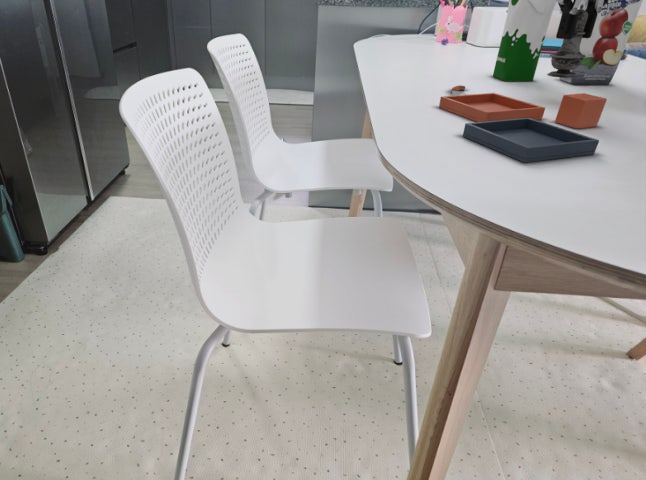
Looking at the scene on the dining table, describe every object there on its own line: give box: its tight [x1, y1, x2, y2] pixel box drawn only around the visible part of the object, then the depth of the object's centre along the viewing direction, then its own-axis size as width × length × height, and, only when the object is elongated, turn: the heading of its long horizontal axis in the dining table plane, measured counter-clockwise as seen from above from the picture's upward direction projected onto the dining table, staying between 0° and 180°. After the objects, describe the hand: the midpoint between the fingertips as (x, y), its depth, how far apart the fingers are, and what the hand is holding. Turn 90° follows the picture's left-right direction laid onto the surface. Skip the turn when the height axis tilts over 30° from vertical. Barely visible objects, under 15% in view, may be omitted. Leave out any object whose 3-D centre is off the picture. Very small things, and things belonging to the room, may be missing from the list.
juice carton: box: [558, 0, 643, 86], centre depth 105 cm, size 9×10×27 cm
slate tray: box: [462, 118, 600, 163], centre depth 69 cm, size 12×13×2 cm
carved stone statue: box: [546, 4, 588, 79], centre depth 87 cm, size 6×6×12 cm
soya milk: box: [492, 0, 558, 82], centre depth 111 cm, size 9×9×20 cm
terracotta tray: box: [438, 92, 546, 122], centre depth 85 cm, size 12×13×2 cm
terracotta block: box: [554, 92, 608, 130], centre depth 78 cm, size 4×4×4 cm
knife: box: [449, 84, 466, 96], centre depth 100 cm, size 13×1×3 cm
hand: (573, 37), depth 87 cm, fingers closed on carved stone statue, 3 cm apart
